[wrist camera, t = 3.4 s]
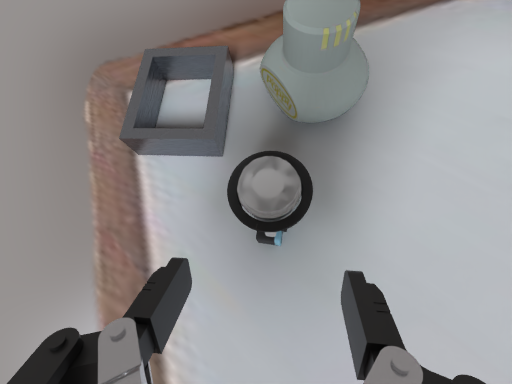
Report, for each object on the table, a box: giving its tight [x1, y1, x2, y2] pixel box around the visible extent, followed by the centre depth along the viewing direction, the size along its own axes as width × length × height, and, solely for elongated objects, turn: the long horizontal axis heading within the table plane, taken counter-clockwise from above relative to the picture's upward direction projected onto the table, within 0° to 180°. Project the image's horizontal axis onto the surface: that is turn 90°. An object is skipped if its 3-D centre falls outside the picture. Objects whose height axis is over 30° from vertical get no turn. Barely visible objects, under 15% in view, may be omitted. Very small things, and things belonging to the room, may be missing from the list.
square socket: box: [119, 46, 234, 156], centre depth 28 cm, size 10×12×4 cm
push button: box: [227, 151, 313, 246], centre depth 19 cm, size 7×5×10 cm
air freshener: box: [260, 0, 369, 123], centre depth 24 cm, size 11×8×10 cm
